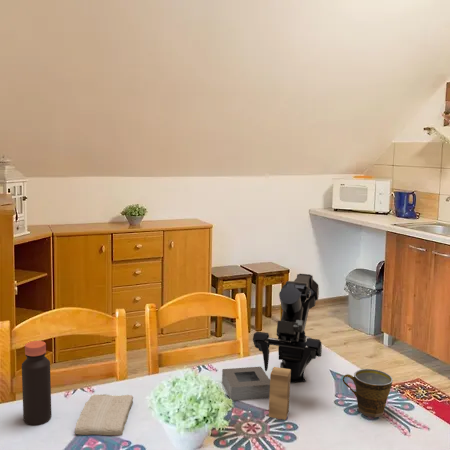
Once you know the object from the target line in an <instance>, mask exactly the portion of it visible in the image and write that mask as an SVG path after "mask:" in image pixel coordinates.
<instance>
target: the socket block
mask: <svg viewBox="0 0 450 450" xmlns="http://www.w3.org/2000/svg"><path fill="white" fill-rule="evenodd" d="M221 372H222V373H221V382H222V385H223V387H224V389H225V391H226V393H227V395H228V397H229V399H230V398H231V399H232V400H233V401H232V402H235V401H247V400H258V399H259V400H261V399H269V396H270V378H269V377H268V375H267V373H266V371H265V369H264V368H262V366H250V367H249V366H248V367H247V366H246V367H235V368H234V367H233V368H222V370H221Z"/></svg>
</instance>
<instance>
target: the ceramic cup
mask: <svg viewBox="0 0 450 450" xmlns="http://www.w3.org/2000/svg"><path fill="white" fill-rule="evenodd" d="M345 378H349V379H351V380H352V382H353V384H354V386H355V390H353V388H352V387H351V386H350V384H348V383H346V381H345ZM342 382H343V384H344V385H345V386H346V387H348V389H350V391H351V392H352V393H353V394H354V396H355V397H356V403H357V411H358V412H359V413H360V414H361V415H363V416H365V417H368V418H369V417H370V418H378V417H379V418H380V417H382V416H383V415H384V412H385V408H386V404H387V401H388V398H389V395H390V393H391V389H392V385H393V382H394V381H393V377H392V376H391V375H390V374H389V373H386V372H384V371H382V370H378V369H375V368H374V369H372V368H363V369H362V368H361V369H359V370H356V371H355V372H354V374H353V375H352V374H349V373H348V374H345V375H343V376H342Z"/></svg>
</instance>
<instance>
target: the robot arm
mask: <svg viewBox="0 0 450 450" xmlns="http://www.w3.org/2000/svg"><path fill="white" fill-rule="evenodd" d="M319 288H320V287H319V284H318V283H317V282H316V281H315V279H314V277H313V274H311V273H310V274H306V273H299V274H296V278H295V279H294V280H287V281H285V283H284V284H283V285H282V288H281V289H280V291H279V293H278V296H279V301H280V306H281V310H282V313H281V318H280V320H277V324H276V325H277V326H276V337H277V338H276V337H270V334H269V332H265V331H264V332H263V331H255V332H254V333H253V338H252V341H253V345H254V347H255V348H256V349H258V351H259V352H262V356H263V357H262V358H263V364H264V365H263V366H264V372H267V371H268V368H269V361H270V360H269V359H270V349H269V348H270V346H277V347H278V360H279V361H280V364H279V366H280V367H279V368H285V369H291V377H290V384H291V383H301V382H303V383H304V382H306V381H307V379H306V377H305V370H306V368H307V367H308V365H309V364H310V362H311V361H312V360H315V359H316V358H317V357H321V356H322V350H323V347H322V344H323V343H322V341H321V340H320V339H316V338H312V337H310V338H307V341H306V336H307V335H306V330H305V328H306V325H307V320H308V317H309V313H310V309H312V308H314V307H315V306H316V302H317V301H319V295H320V290H319ZM311 338H312V339H311Z"/></svg>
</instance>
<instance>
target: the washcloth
mask: <svg viewBox="0 0 450 450" xmlns="http://www.w3.org/2000/svg"><path fill="white" fill-rule="evenodd" d="M133 400H134V396H133V395H132V394H124V395H123V394H122V395H112V394H111V395H110V394H107V393H106V394H92V395H91V396H90V397H89V399H88V401H85V403H84V406H83V408H82V410H81V411H80V414H79V417H78V419H77V421H76V423H75V428H74V434H75V435H80V436H82V435H83V436H90V435H94V436H95V435H97V436H98V435H100V436H121V435H123V433H124V431H125V426H126V423H127V420H128V418H129V413H130V411H131V409H132V406H133V403H134V401H133Z"/></svg>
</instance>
